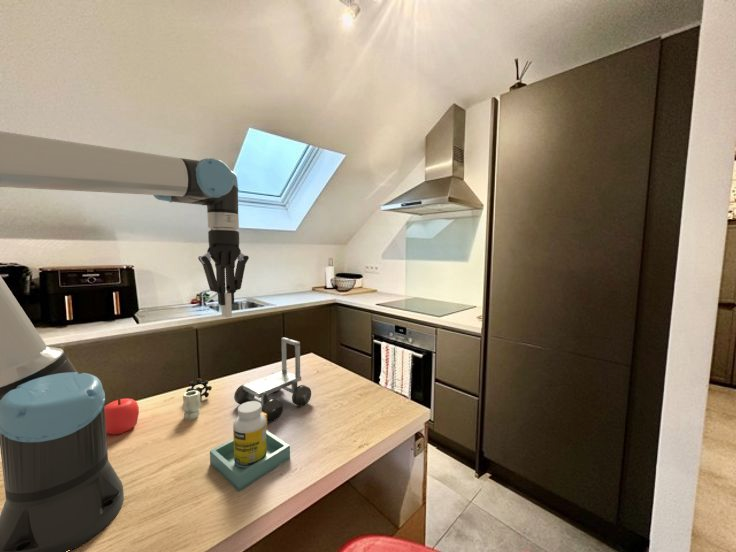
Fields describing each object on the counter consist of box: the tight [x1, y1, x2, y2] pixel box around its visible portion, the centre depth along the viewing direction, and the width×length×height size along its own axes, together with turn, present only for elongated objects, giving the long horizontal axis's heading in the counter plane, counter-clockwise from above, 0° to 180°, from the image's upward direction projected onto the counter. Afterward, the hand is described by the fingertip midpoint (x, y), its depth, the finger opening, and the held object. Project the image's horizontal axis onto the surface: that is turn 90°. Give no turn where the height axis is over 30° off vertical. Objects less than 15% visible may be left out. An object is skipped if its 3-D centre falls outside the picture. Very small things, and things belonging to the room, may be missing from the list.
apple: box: [104, 397, 140, 436], centre depth 75 cm, size 8×8×8 cm
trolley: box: [233, 336, 312, 423], centre depth 87 cm, size 16×15×18 cm
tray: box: [209, 429, 291, 492], centre depth 65 cm, size 12×12×3 cm
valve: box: [181, 378, 212, 421], centre depth 85 cm, size 7×7×12 cm
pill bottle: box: [232, 401, 267, 468], centre depth 64 cm, size 6×6×12 cm
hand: (226, 316), depth 84 cm, fingers closed
